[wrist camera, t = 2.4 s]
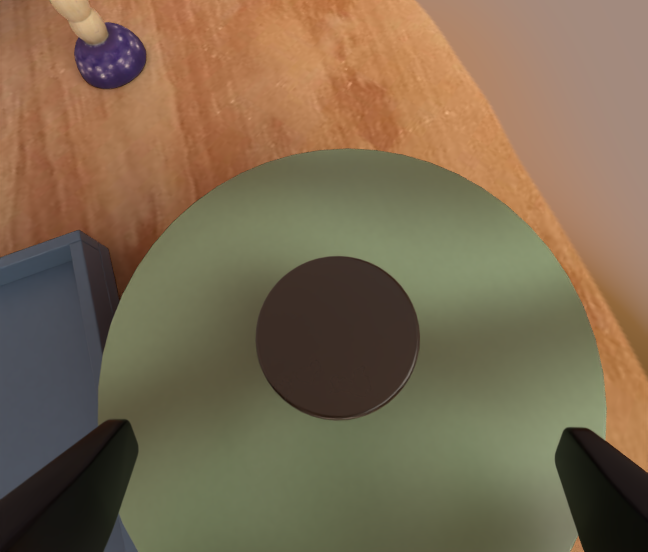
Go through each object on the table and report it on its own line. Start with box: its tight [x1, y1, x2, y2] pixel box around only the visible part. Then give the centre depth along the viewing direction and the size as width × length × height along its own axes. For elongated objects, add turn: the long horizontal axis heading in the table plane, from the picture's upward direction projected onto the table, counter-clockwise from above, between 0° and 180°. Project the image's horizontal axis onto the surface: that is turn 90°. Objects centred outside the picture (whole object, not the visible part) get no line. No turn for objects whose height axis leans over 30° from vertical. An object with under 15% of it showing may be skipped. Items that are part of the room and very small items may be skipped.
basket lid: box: [98, 149, 607, 552], centre depth 10 cm, size 16×16×7 cm
